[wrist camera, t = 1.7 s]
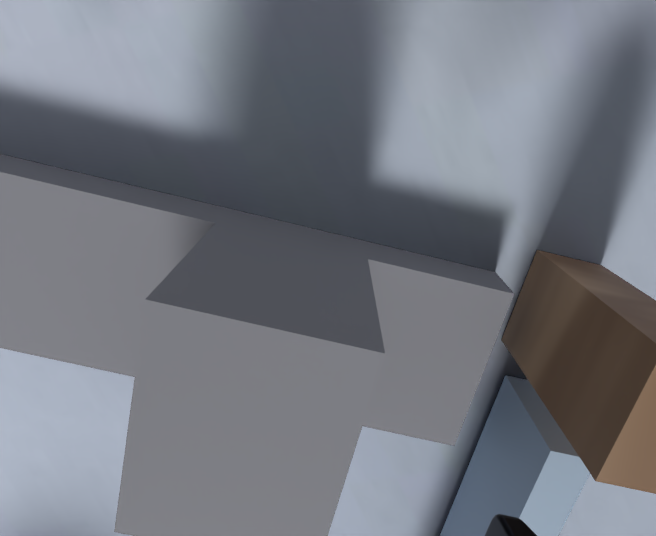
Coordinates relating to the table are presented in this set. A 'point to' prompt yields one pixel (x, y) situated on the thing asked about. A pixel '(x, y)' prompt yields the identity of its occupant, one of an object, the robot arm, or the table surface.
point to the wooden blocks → (591, 363)
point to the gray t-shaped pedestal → (237, 344)
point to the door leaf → (518, 468)
